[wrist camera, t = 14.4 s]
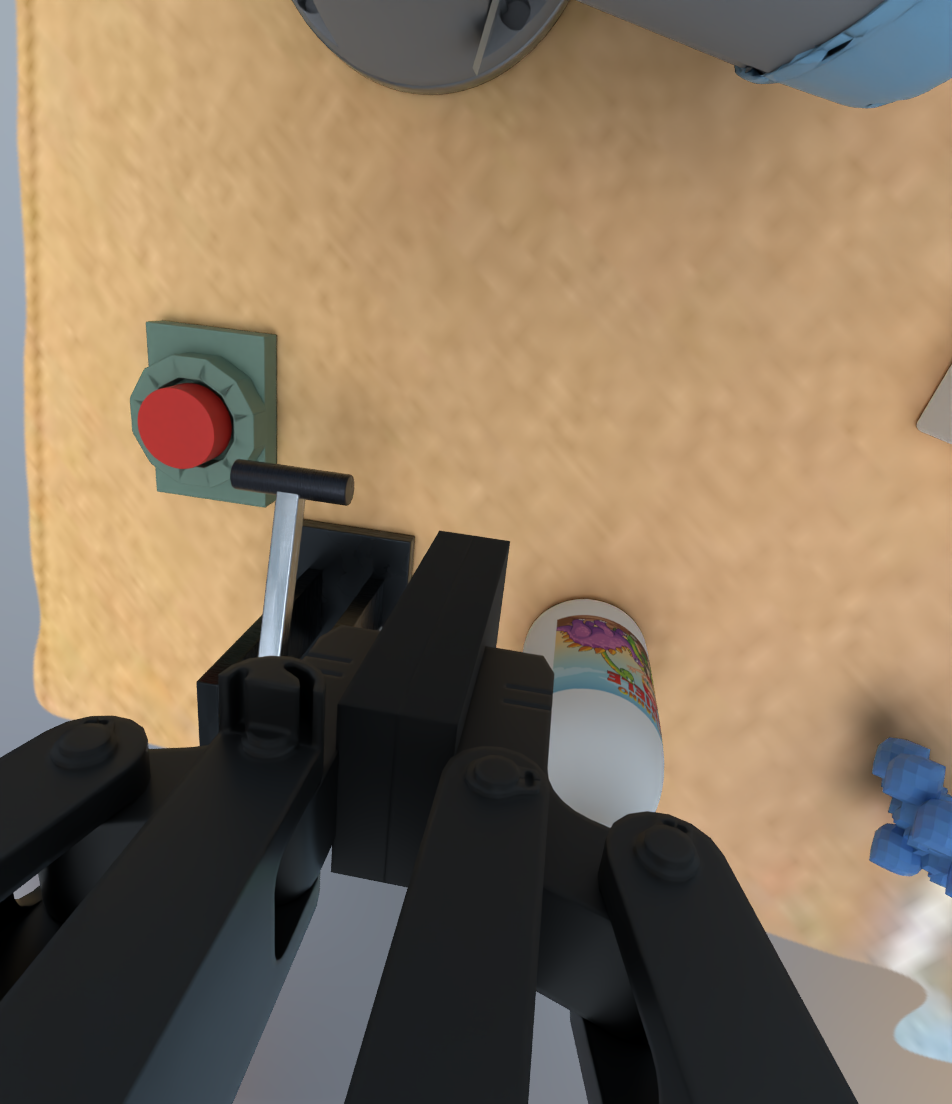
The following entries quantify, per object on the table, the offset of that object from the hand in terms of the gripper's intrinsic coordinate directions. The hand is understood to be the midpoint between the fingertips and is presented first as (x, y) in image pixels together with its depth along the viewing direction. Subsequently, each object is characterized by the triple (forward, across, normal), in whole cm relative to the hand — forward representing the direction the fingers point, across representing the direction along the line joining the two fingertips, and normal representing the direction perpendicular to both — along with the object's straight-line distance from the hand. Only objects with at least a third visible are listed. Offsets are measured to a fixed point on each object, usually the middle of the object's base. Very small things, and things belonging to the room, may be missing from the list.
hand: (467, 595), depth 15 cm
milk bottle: (+27, +5, -15) cm, 31 cm away
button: (+23, -19, -3) cm, 30 cm away
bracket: (+26, -10, -14) cm, 32 cm away
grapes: (+27, +25, -20) cm, 42 cm away
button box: (+26, -19, -3) cm, 33 cm away
